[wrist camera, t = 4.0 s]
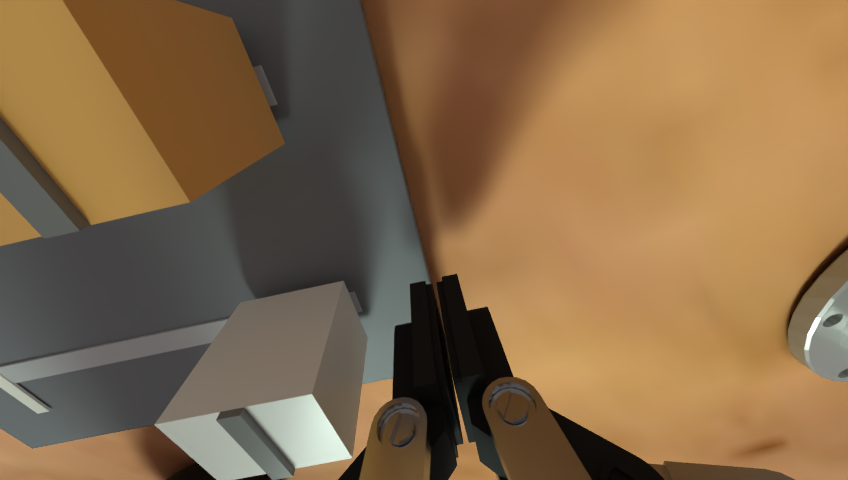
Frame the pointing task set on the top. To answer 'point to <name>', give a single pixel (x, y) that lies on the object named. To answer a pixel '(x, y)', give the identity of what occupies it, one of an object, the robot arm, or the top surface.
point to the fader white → (274, 387)
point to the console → (220, 242)
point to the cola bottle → (204, 475)
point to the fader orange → (120, 111)
